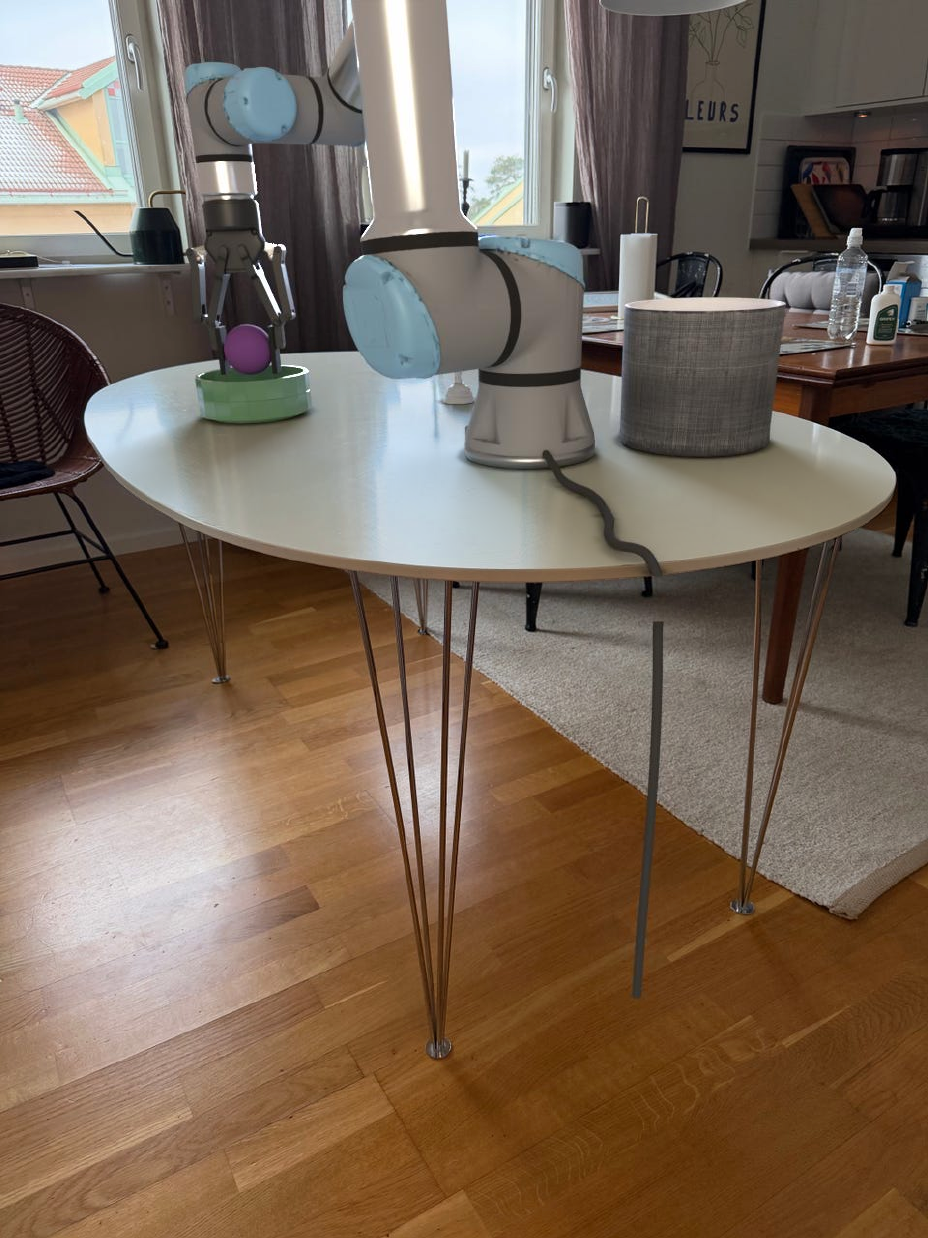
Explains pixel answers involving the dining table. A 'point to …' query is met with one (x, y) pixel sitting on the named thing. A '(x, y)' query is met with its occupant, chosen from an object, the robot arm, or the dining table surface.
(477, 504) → the dining table surface
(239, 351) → the ball
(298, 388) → the bowl
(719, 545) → the dining table surface
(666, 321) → the planter
